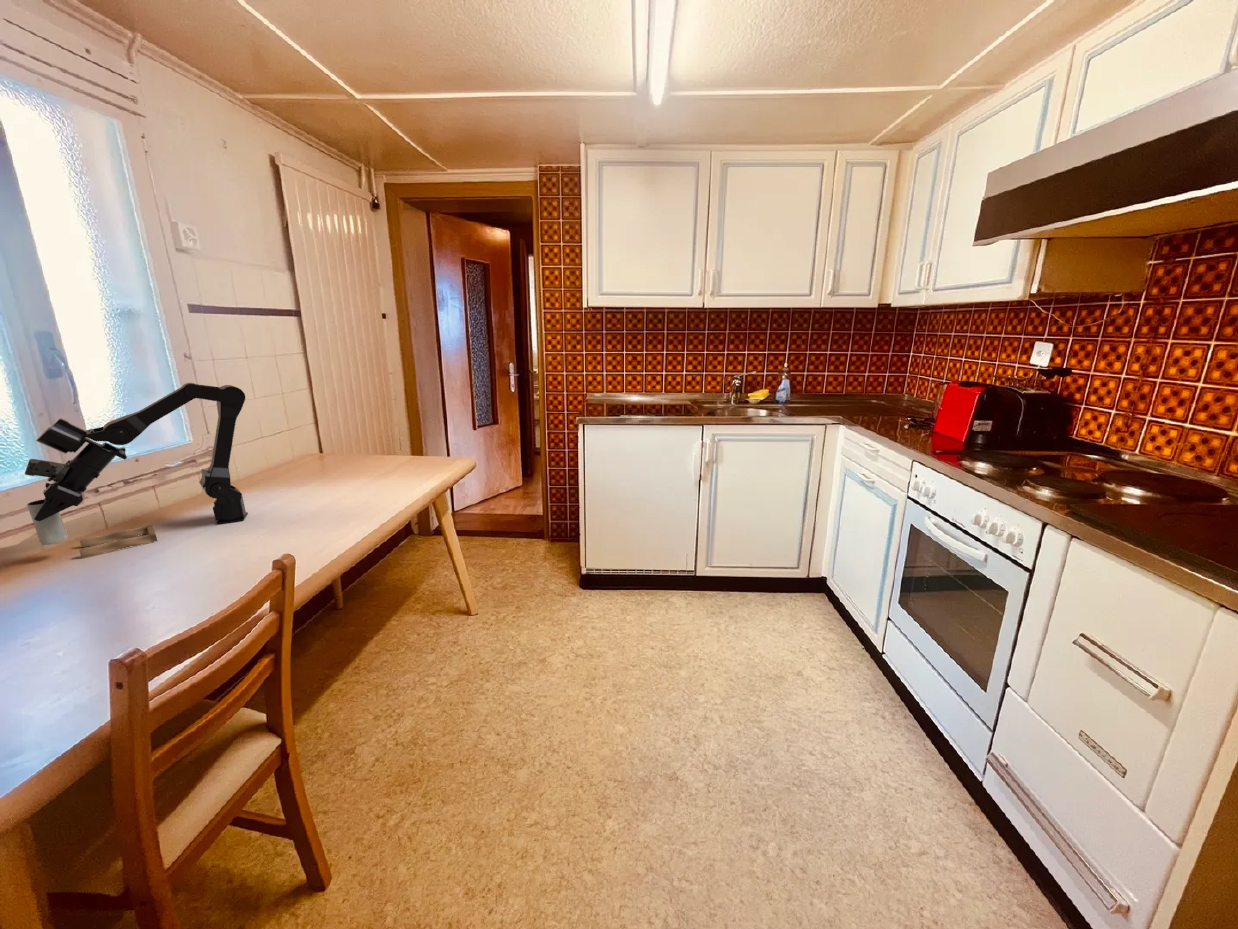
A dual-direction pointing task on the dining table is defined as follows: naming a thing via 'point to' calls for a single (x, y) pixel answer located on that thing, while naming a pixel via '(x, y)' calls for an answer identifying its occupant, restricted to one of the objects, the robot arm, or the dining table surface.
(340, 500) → the dining table surface
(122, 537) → the tan u-shaped frame
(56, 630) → the dining table surface
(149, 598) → the dining table surface
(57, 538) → the planter
